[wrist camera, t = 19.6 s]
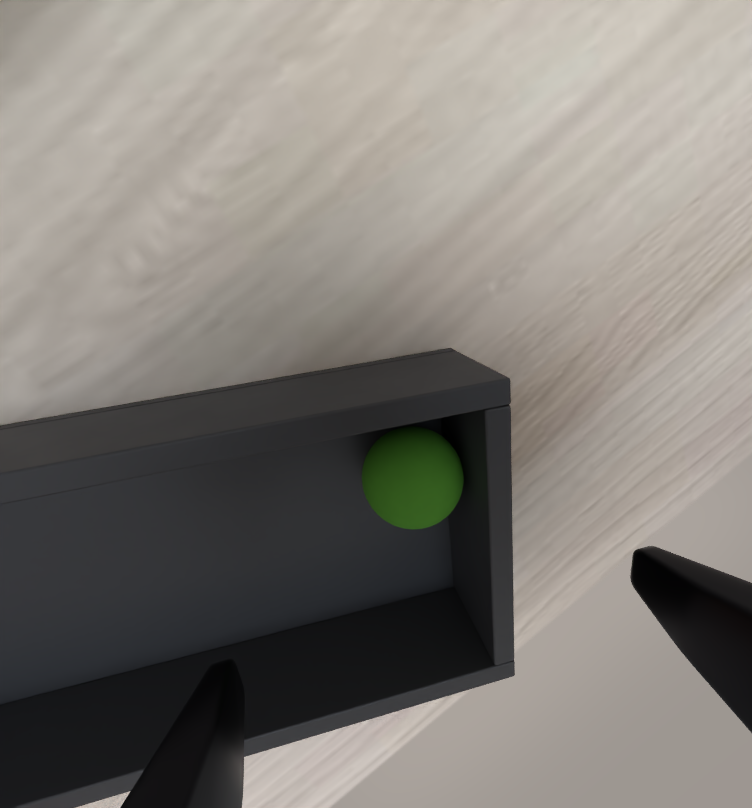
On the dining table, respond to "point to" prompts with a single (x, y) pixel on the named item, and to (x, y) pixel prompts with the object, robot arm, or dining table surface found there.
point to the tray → (241, 567)
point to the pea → (412, 477)
